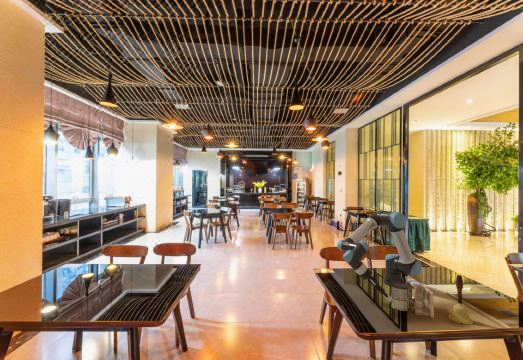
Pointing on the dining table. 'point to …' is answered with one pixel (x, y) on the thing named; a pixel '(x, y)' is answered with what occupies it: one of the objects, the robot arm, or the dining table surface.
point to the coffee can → (400, 296)
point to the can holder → (420, 298)
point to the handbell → (460, 306)
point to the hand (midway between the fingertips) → (390, 300)
